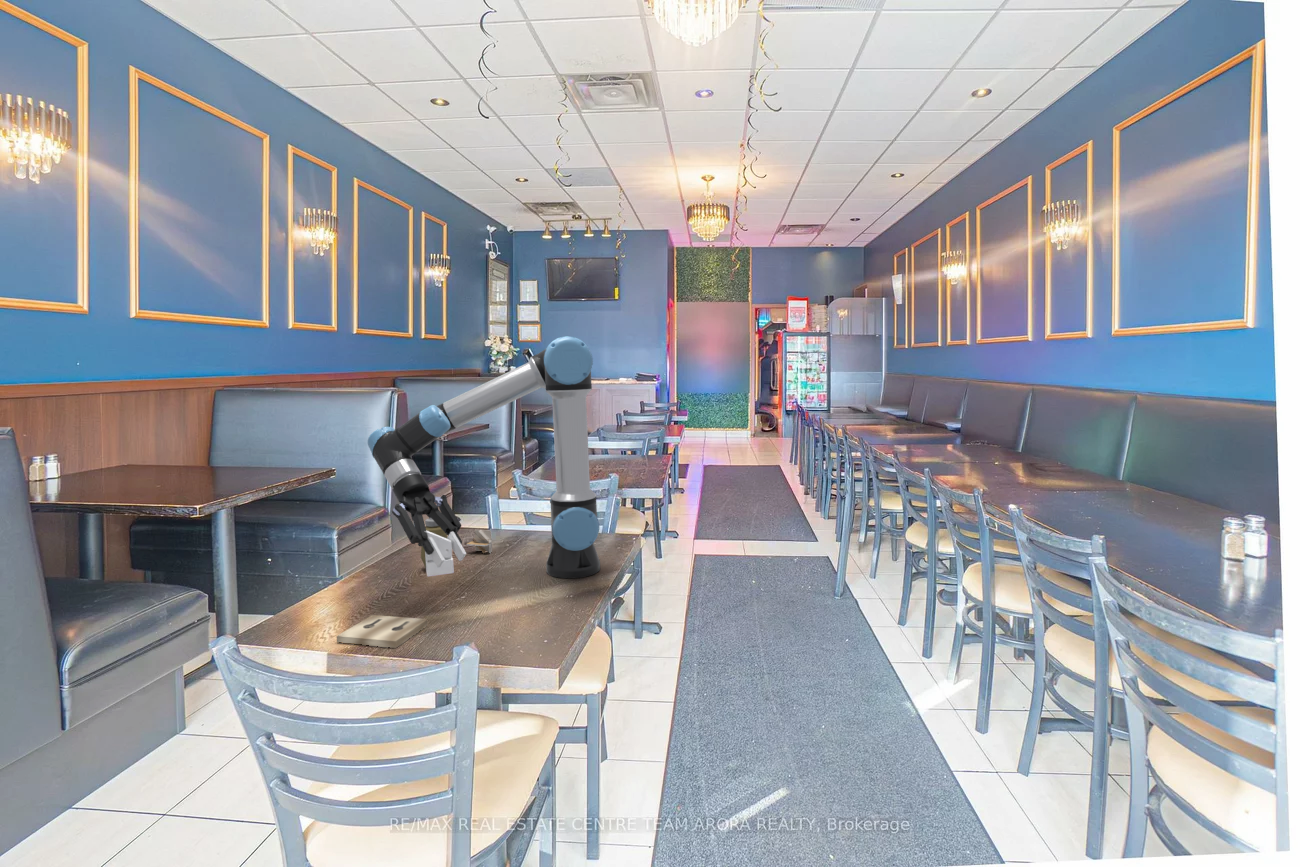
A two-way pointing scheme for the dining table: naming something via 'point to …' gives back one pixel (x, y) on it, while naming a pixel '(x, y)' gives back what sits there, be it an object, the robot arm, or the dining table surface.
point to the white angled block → (447, 554)
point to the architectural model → (482, 541)
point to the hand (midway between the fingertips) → (452, 560)
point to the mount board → (382, 631)
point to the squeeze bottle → (433, 528)
